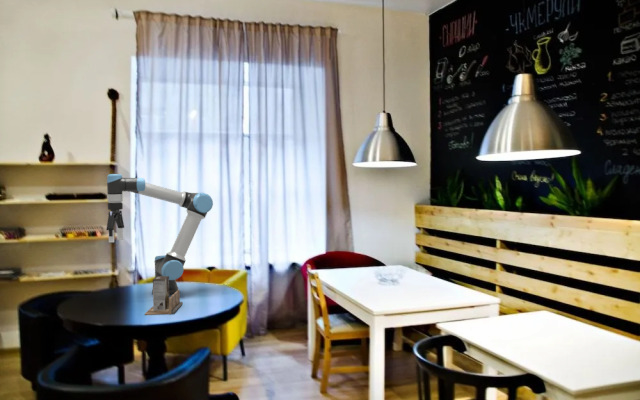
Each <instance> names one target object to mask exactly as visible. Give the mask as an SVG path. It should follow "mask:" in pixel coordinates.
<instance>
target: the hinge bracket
mask: <svg viewBox="0 0 640 400" xmlns="http://www.w3.org/2000/svg"><path fill="white" fill-rule="evenodd" d="M180 292H181V291H180V289H178V290H177V291H176V292H175V293H174V294H172V295H170V296H169V307H168V308H167V309H166V310H157V311H153V306H151V307H150V308H149V309H148V310H147V311H146V312H145V313H144V316H150V315H151V316H152V315H153V316H154V315H159V316H161V315H174V314H175V313H176V312H177V311H178V310H179V309H180V308H181V307H182V305H183V301H181V299H180V297H181V296H180V294H181V293H180Z"/></svg>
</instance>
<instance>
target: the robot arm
mask: <svg viewBox="0 0 640 400" xmlns="http://www.w3.org/2000/svg"><path fill="white" fill-rule="evenodd" d="M106 187H107V188H106V192H107V196H106V198H107V210H109V211H108V216H107V223H106V231H108V233H107V234H108V243H115V230H114V229H115V224H116V226H117V230H116V233H117V234H116V235H117V236H116V238H117V239H116V240H117V241H120V240H121V241H122V240H124V235H123V232H124V231H123V230H124V229H125V224H124V218H123V211H122V210H123V207H124V206H123V198H124V196H123V192H129V193H134V194H138V195H142V196H145V197H149V198H153V199H157V200H161V201H165V202H169V203H173V204H175V205H178V206H179V207H181V208H184V209H186V213H187V215H186V216H185V219H184V221H183V223H182V225H181V228H180V230H179V232H178V234H177V237H176V239H175V240H174V243H173V245H172V248H171V250H170V251H168V252H166V255H156V256H155V257H154V278H156V277H157V276H169V296H172V295H173V294H174V293H175V292H176V291H177V290H179V286H178V283H177V281H176V280H179V278H181V277H182V275H183V273H184V265H185V263H186V260H187V259H186V258H185V256H186V254H187V253H188V250H189V248H190V247H191V244H192V241H193V239H194V237H195V235H196V232H197V230H198V229H199V225H200V223H201V221H202V220H204V219H205V218H206V216H207V214H208V213H209V212H210V211H211V210H212V209H213V206H214V202H213V199H212V197H211V195H209V194H207V193H205V192H187V191H182V192H181V191H178V190H173V189H171V188H167V187H163V186H159V185H156V184H152V183H148V182H146V180H145V178H144V177H123V175H122V174H121V173H118V174H117V173H110V174H108V175H107V178H106ZM151 289H152V293H151V294H152V295H153V288H151Z"/></svg>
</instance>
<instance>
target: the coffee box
mask: <svg viewBox="0 0 640 400" xmlns="http://www.w3.org/2000/svg"><path fill="white" fill-rule="evenodd" d="M152 289H153V294H152V298H153V299H152V303H153V305H152V307H153V311H157V310H166V309H167V308H168V307H169V298H170V295H169V276H157V277H156V278H155V277H154V278H153V279H152Z"/></svg>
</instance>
